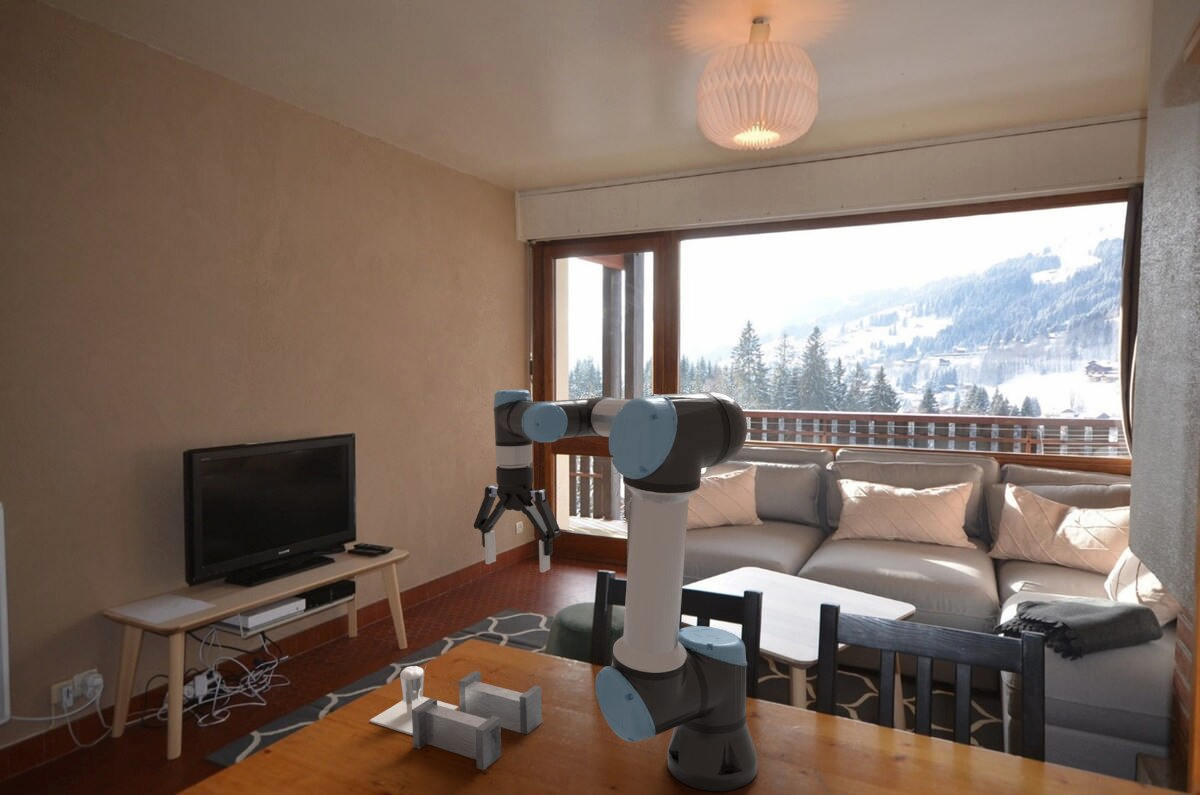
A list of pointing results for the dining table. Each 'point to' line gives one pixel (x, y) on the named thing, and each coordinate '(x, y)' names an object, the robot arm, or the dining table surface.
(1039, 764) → the dining table surface
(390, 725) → the pad
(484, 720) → the brackets
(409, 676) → the milkshake
